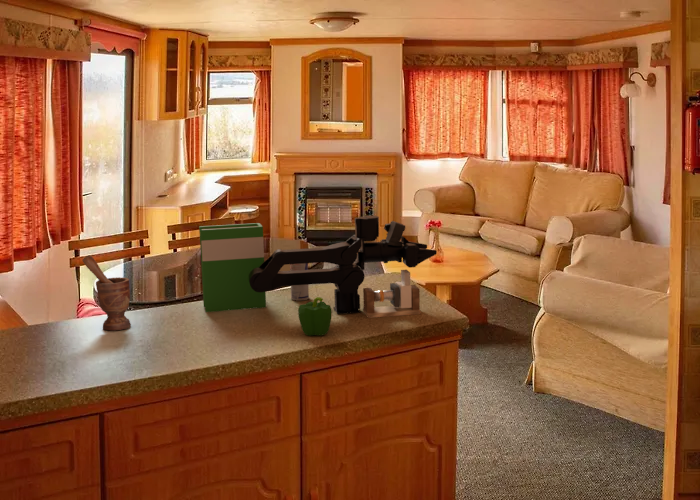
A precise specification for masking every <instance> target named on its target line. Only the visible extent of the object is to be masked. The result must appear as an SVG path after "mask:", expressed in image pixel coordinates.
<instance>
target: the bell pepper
mask: <svg viewBox="0 0 700 500" xmlns="http://www.w3.org/2000/svg"><path fill="white" fill-rule="evenodd" d="M318 301H319V302H318ZM297 309H298V310H297V313H298V319H299V320H298V321H299V323H300V327H301V330H302V332H303V333H304V335H306V336H308V337H309V336H311V335H312V336H324V335H327V334H328V333H329V330H330V327H331V322H332V321H331V320H332V308H331V305H329V304H327V303H326V302H325V301H324V298H322V297H315V298H314V299H313V301H309V302H307V303H303V304H300V305H299V306H298V308H297Z"/></svg>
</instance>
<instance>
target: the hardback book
mask: <svg viewBox="0 0 700 500" xmlns="http://www.w3.org/2000/svg"><path fill="white" fill-rule="evenodd" d="M198 228H199V230H198V231H199V244H200V245H199V247H200V262H201V263H200V264H201V279H202V280H201V281H202V282H201V283H202V298H203V299H202V300H203V301H202V302H203V307H204V312H205V313H213V312H226V311H237V310H239V311H240V310H247V309H248V310H249V309H250V308H251V309H262V307H263V308H267V297H266V295H267V294H266V293H267V291H266V292H261V293H260V292H255V291H254V290H253V289H252V288H251V286H250V283H249V279H248V277H249V273H250V272H251V271H252V270H253V269H254V268H258V267H259V266H260V265H261V264H262V263H263V262H264V261H265V246H264V226H263V225H262V224H261V223H259V222H256V223H238V224H237V223H235V224H220V225H216V224H215V225H203V226H202V225H201V226H198Z"/></svg>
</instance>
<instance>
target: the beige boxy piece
mask: <svg viewBox="0 0 700 500" xmlns="http://www.w3.org/2000/svg"><path fill="white" fill-rule="evenodd" d="M394 283H395V284H396V285H397V286H398V287H399V289H400V300H399V307H400V308H412V302H411V285H412V284H411V271H409V270H408V269H400V281H395V282H394Z"/></svg>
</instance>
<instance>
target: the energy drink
mask: <svg viewBox="0 0 700 500" xmlns="http://www.w3.org/2000/svg"><path fill="white" fill-rule="evenodd" d="M289 268H290V270H289V271H294V270H309V263H303V264H289ZM309 291H310V287H309V285H293V286H290V297H291V300H292V301H295V300H296V301H298V302H301V301H302V302H303V301H307V300H308V299H309V298H310V297H309V296H310V293H309Z"/></svg>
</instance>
